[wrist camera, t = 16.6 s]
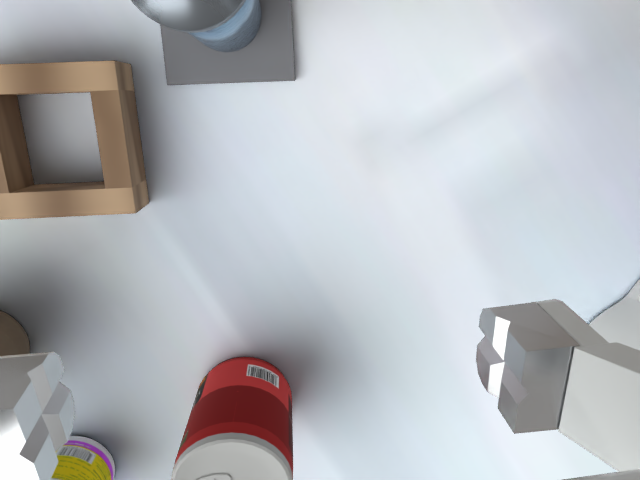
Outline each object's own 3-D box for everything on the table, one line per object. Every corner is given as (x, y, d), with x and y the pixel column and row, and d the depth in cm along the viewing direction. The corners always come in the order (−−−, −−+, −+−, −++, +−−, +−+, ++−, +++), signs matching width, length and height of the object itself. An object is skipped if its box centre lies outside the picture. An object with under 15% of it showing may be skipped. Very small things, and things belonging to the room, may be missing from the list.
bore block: (130, 64, 35) (114, 60, 32) (149, 202, 38) (135, 213, 35) (-15, 69, 35) (-48, 65, 32) (14, 209, 38) (-13, 220, 34)
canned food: (186, 366, 42) (152, 456, 32) (278, 343, 42) (275, 425, 32) (213, 441, 44) (190, 548, 34) (301, 419, 44) (305, 520, 34)
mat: (288, -60, 34) (288, -62, 33) (294, 80, 36) (294, 80, 36) (153, -56, 34) (150, -59, 33) (169, 84, 36) (167, 84, 35)
